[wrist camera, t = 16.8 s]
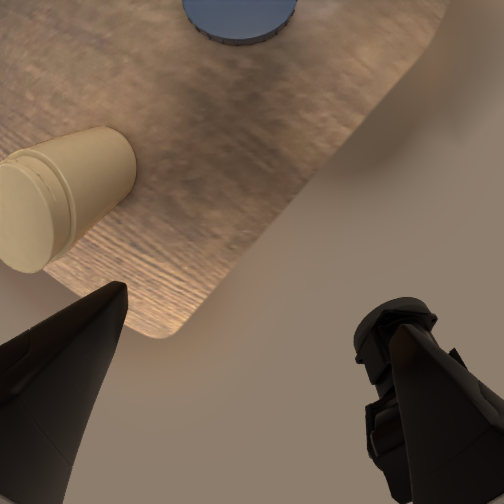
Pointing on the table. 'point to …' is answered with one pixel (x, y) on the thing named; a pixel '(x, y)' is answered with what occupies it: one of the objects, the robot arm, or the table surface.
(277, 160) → the table surface
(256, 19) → the lid
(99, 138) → the jar
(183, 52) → the table surface
